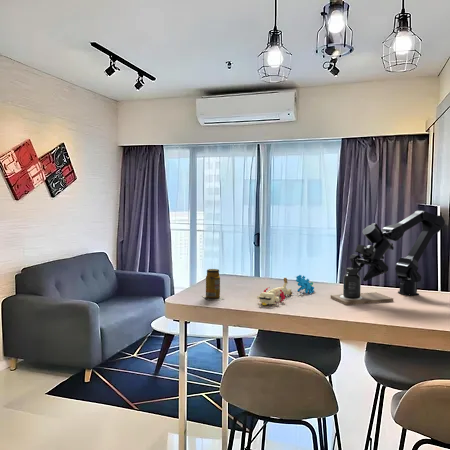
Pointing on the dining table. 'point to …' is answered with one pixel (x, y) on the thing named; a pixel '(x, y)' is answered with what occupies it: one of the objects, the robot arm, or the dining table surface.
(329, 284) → the dining table surface
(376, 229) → the robot arm
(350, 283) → the supplement bottle
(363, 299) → the walnut board
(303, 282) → the blue lumpy piece
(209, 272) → the condiment
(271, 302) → the cat figure
